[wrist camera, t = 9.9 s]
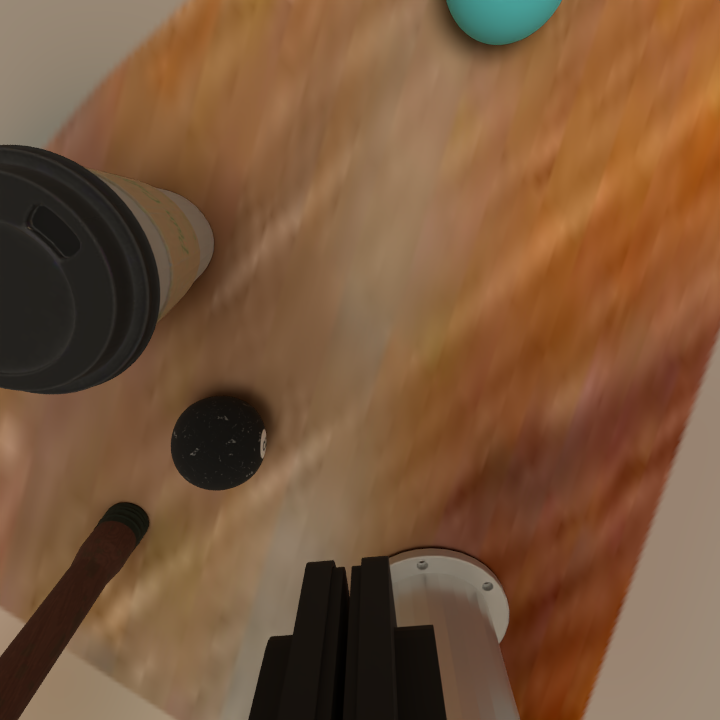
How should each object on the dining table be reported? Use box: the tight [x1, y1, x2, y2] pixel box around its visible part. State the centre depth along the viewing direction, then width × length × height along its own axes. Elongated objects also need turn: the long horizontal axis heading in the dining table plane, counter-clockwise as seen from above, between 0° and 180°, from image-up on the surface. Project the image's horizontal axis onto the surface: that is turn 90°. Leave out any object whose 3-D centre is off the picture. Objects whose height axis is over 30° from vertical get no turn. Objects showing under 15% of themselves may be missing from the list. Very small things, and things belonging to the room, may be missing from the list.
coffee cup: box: [0, 145, 214, 394], centre depth 24 cm, size 9×9×15 cm
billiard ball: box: [171, 396, 266, 490], centre depth 33 cm, size 6×6×6 cm
